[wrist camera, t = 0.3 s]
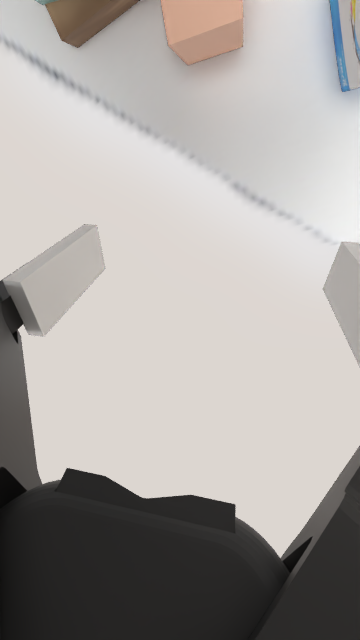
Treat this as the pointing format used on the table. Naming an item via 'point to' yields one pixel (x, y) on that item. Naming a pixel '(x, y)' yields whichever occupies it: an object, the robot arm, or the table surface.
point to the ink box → (347, 41)
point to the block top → (45, 1)
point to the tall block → (203, 27)
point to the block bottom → (84, 17)
